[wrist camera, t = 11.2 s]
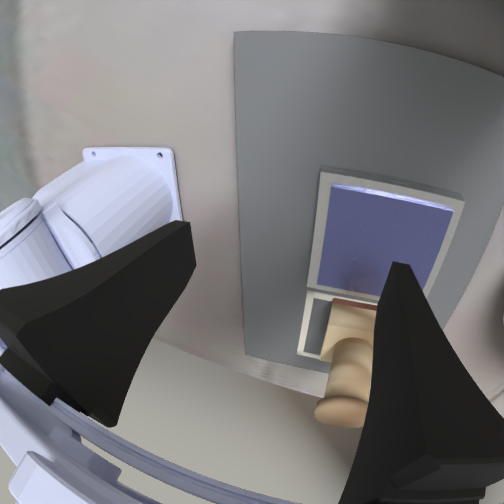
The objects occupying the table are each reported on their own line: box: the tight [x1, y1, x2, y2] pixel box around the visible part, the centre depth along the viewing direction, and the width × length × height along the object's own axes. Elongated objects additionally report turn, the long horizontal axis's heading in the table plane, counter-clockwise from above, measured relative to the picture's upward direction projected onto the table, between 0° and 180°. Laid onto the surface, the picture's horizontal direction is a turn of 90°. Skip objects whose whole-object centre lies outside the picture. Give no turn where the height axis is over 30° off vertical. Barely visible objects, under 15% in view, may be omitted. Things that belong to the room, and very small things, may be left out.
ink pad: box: [307, 165, 465, 301], centre depth 19 cm, size 9×9×2 cm
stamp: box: [314, 298, 377, 428], centre depth 22 cm, size 5×5×9 cm
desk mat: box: [234, 31, 504, 378], centre depth 22 cm, size 18×30×1 cm, turn 0°
